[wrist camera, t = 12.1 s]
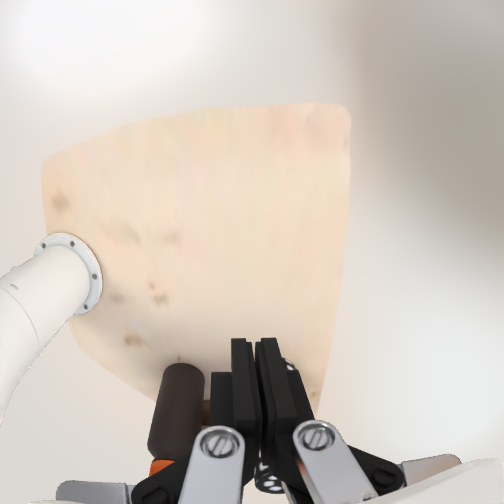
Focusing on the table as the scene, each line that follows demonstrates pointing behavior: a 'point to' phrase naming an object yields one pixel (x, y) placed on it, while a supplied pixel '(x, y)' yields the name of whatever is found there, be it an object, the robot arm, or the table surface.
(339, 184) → the table surface
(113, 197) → the table surface
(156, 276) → the table surface
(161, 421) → the bottle
